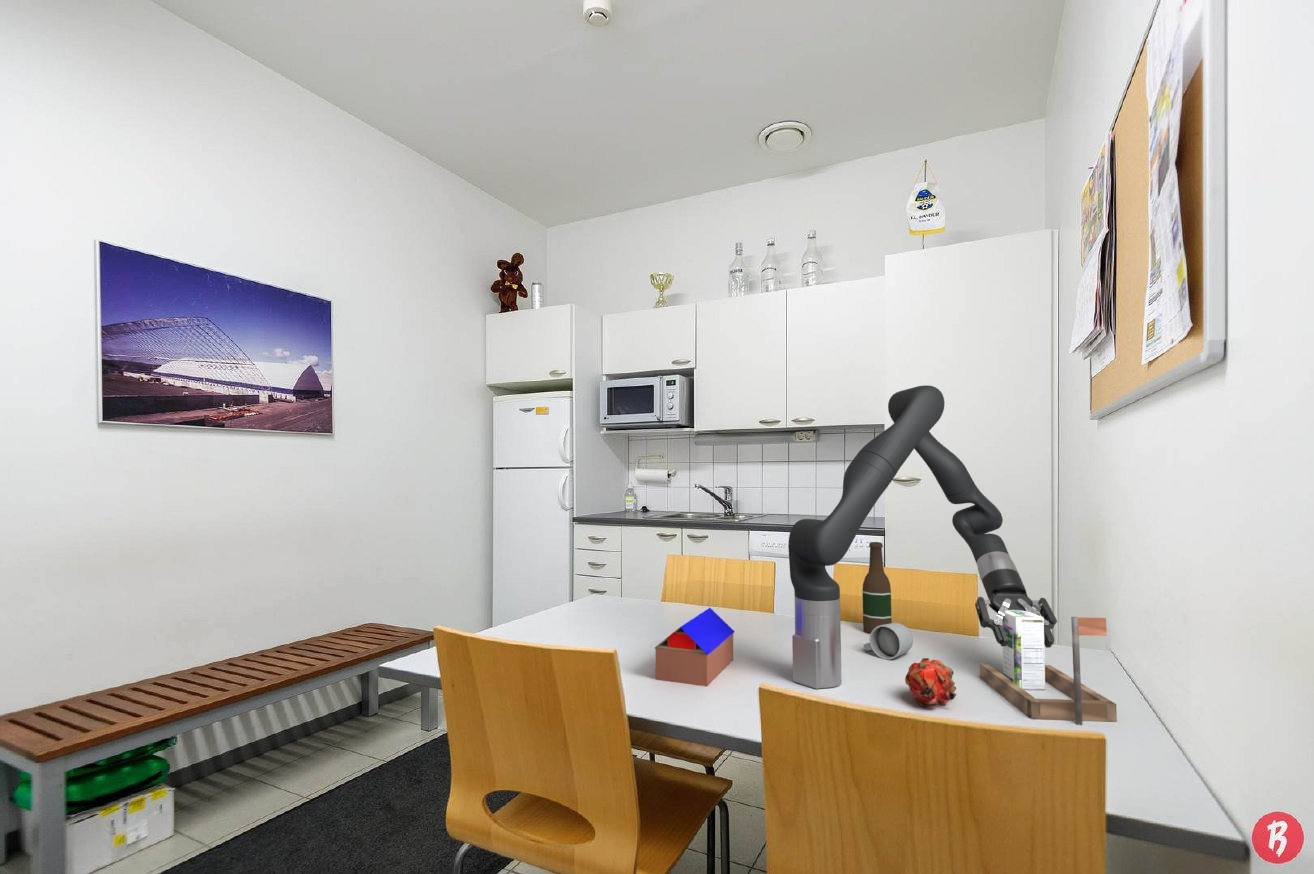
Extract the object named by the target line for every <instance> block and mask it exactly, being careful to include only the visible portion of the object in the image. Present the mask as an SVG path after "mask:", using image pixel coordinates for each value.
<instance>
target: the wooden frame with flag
mask: <svg viewBox="0 0 1314 874" xmlns="http://www.w3.org/2000/svg"><path fill="white" fill-rule="evenodd" d="M1070 619H1071V622H1070V623H1071V645H1072V671H1073V677H1072V676H1069V675H1067V674H1066V673H1064V672H1062V670H1059V669H1057V668H1056V667H1054V666H1052V665H1051V664H1045V683H1048V685H1051V686H1052V687H1054V688H1055V689H1056V690H1058V691H1060V692H1061V693H1063V694H1065V695H1066V696H1068V697H1069V698H1071V699H1061V698H1060V699H1059V698H1058V699H1057V698H1035V697H1034V696H1033V695H1031V694H1030V693H1028V692H1027V691H1026V690H1023V689H1022V688H1020V687H1019V686H1018V685H1016V684H1015V683H1013V682H1012V681H1011V680H1009V679H1008V678H1007V677H1005V676H1004V675H1003V674H1002V673H1001V672H1000V671H998V670H997V669H995V667H993V666H992V665H990V664H989V663H987V662H986V663H984V662H983V663H982V662H979V677H980V679H981V680H983V682H985V684H987V685H989V686H990V687H991V688H992V689H993V690H995V692H998V694H999V695H1001V696H1002V697H1003V698H1005V699H1006V700H1007V701H1009V702H1010V703H1011V704H1012V705H1014V706H1015V707H1016V708H1017V709H1019V710H1020V711H1021V712H1022V713H1023V714H1025V715H1026V716H1028V717H1029V718H1030V719H1031V720H1048V721H1049V720H1052V721H1053V720H1056V721H1075V725H1078V724H1080V725H1079V726H1082V725H1083V722H1084V721H1085V722H1086V721H1087V722H1111V723H1113V722H1114V723H1116V722H1118V717H1117V716H1118V713H1117V703H1116V702H1113V701H1111V700H1110V699H1108V698H1106V697H1105V696H1104V695H1101V694H1100V693H1098V692H1096V691H1095V690H1093V689H1091V688H1090V687H1088V686H1086V685H1085V684H1083V683H1082V682H1081V679H1082V678H1081V676H1082V675H1081V657H1080V653H1081V652H1080V651H1081V650H1080V636H1086V637H1087V636H1088V637H1089V636H1091V637H1093V636H1096V637H1097V636H1098V637H1099V636H1100V637H1107V636H1108V633H1107V617H1081V616H1080V617H1079V616H1071V618H1070Z"/></svg>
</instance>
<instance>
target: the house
mask: <svg viewBox="0 0 1314 874" xmlns="http://www.w3.org/2000/svg"><path fill="white" fill-rule="evenodd" d="M735 632H736V631H735V630H734V629H733V628H732V627H731V626H730V625H729V624H728V623H727V622H725V620H723V619H722V618H721V617H720V615H719V614H717V613H716V612H715V610H713V609H712V608H711V607H709V608H707V609H706V610H704V611H703V612H701V613H699V614H698V615H696V616H695V617H693V618H692V619H690V620H689V621H687V622H686V623H684V624H683V625H681V626H680V627H678V628H677V629H675V630H674V631H673V632H672V633H671V634H670V635H668V636H667V637H666V638H665V639H664V640H662V641H661V642H659V644H657V645H656V646H655V647H654V649H655V680H656V681H663V682H669V681H670V682H671V683H679V684H686V685H692V686H699V687H700V686H701V687H708V686H710V685H711V683H712V682H713V681H714V680H715V679H717V677H718V676H719V675H720V674H721V673H722V672H723V671H724V670H725V669H727V667H729V665H730V664H731V663H732V662H733V661H734V634H735Z"/></svg>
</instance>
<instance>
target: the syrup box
mask: <svg viewBox="0 0 1314 874" xmlns="http://www.w3.org/2000/svg"><path fill="white" fill-rule="evenodd" d="M1001 623H1002V626H1003V629H1004V632H1005V634H1006V637H1007V640H1008V643H1007V645H1006V646H1002V664H1003V665H1002V667H1003V668H1002V669H1003V671H1002V673H1003V674H1002V675H1004V676H1005V677H1007V678H1008V679H1009V680H1011V681H1012V682H1013V683H1015V684H1016V685H1018V686H1019V687H1020V688H1022V689H1023V690H1025V691H1026V690H1031V691H1032V690H1033V691H1034V690H1036V691H1037V690H1046V681H1045V665H1046V663H1045V661H1046V659H1045V658H1046V657H1045V655H1046V654H1045V645H1044V618H1043V617H1042V616H1041V615H1040V616H1038V615H1036V614H1033V613H1030V612H1027V611H1021V610H1007V611H1006V612H1005V615H1004V617H1003V619H1002V621H1001Z"/></svg>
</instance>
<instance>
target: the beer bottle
mask: <svg viewBox="0 0 1314 874" xmlns="http://www.w3.org/2000/svg"><path fill="white" fill-rule="evenodd" d="M868 547H869V565H868V566H869V567H868V573H866V575H865V577H864V580H863V583H862V626H863V629H862V630H863V633H865V634H868V635H870V634H871V632H872V630H873V629H874V628H876V627H877V626H880V625H885V624H890V623H893V622H892V620H893V619H892V618H893V617H892V587H891V582H890V580H889V577H888V576H887V574H886V573H885V570H884V569H885V568H884V561H883V549H882V548H883V547H884V546H883V543H882V542H878V541H871V542H869V545H868Z"/></svg>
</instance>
